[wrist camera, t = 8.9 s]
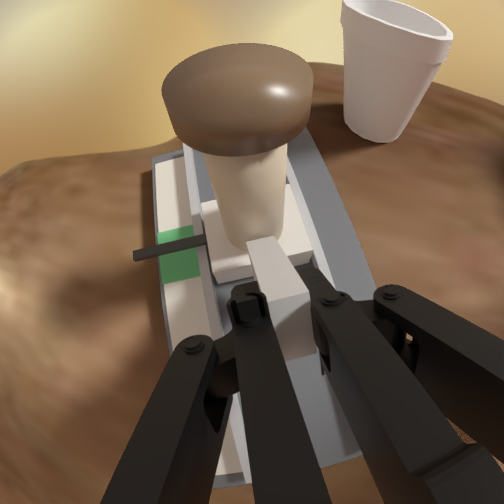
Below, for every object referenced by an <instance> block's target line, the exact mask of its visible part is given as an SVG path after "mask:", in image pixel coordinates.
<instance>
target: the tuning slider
mask: <svg viewBox="0 0 504 504" xmlns="http://www.w3.org/2000/svg"><path fill="white" fill-rule="evenodd" d="M312 89H313V72H312V69H311V67H310V66H309V64H308V63H307V62H306V61H305V60H304V59H302V58H301V57H300V56H298V55H297V54H295V53H293V52H291V51H289V50H286V49H283V48H280V47H276V46H272V45H266V44H257V43H239V44H230V45H223V46H219V47H214V48H211V49H208V50H205V51H202V52H199V53H197V54H195V55H193V56H191V57H189V58H187V59H185V60H184V61H182V62H181V63H179V64H178V65H177V66H175V67H174V68H173V69H172V70H171V71H170V72H169V74H168V75H167V76H166V78H165V80H164V82H163V85H162V97H163V99H164V102H165V105H166V108H167V111H168V114H169V117H170V120H171V123H172V126H173V129H174V131H175V133H176V135H177V136H178V138H179V139H180V140H181V141H182V142H183V143H184V144H186V145H187V146H189V147H190V148H193V149H195V150H197V151H200V152H203V156H204V159H205V163H206V166H207V170H208V173H209V177H210V181H211V184H212V188H213V191H214V195H215V198H216V200H212V201H207V202H203V203H201V207H202V214H203V220H204V226H205V232H206V233H204V234H200V235H196V236H192V237H188V238H183V239H179V240H175V241H171V242H167V243H163V244H159V245H155V246H151V247H147V248H143V249H139V250H135V251H133V260H134V261H135V262H136V261H141V260H145V259H149V258H153V257H157V256H161V255H165V254H170V253H174V252H178V251H182V250H187V249H191V248H195V247H199V246H204V245H208V249H209V255H210V261H211V266H212V272H213V275H214V276H215V278H216V280H217V282H218V284H221V283H225V282H230V281H234V280H238V279H243V278H247V277H252V276H253V271H252V267H251V262H250V258H249V253H248V249H247V244H246V242H248V241H252V240H256V239H261V238H265V237H269V236H274V237H275V238H276V240H277V241H278V243H279V245H280V246H281V248H282V249H283V251H284V252H285V254H286V255H287V257H288V259H289V260H290V262H291V263H292V265H293V266H298V265H303V264H307V263H309V262H310V258H311V255H312V251H313V249H312V246H311V243H310V240H309V237H308V234H307V231H306V228H305V225H304V222H303V219H302V217H301V214H300V211H299V208H298V205H297V203H296V200H295V197H294V194H293V192H292V189H291V186H290V184H286V165H287V143H288V142H290V141H291V140H293V139H294V138H295V137H297V136H298V135H299V134H300V133H301V132H302V131H303V130H304V128H305V127H306V125H307V123H308V121H309V117H310V111H311V100H312Z"/></svg>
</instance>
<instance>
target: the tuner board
mask: <svg viewBox="0 0 504 504" xmlns="http://www.w3.org/2000/svg"><path fill="white" fill-rule="evenodd" d="M152 177H153V204H154V222H155V237H156V245H159V244H163V243H167V242H171V241H175V240H179V239H183V238H188V237H192V236H196V235H200V234H204V233H206V232H205V226H204V220H203V214H202V207H201V203H203V202H207V201H212V200H216V198H215V195H214V191H213V188H212V184H211V181H210V177H209V173H208V170H207V166H206V163H205V159H204V156H203V152H200V151H197V150H195V149H193V148H190V147H189V146H187V145H186V144H184V143H183V149H182V150H178V151H175V152H171V153H167V154H164V155H160V156H157V157H153V158H152ZM286 184H290V186H291V189H292V192H293V194H294V197H295V200H296V203H297V205H298V208H299V211H300V214H301V217H302V219H303V222H304V225H305V228H306V231H307V234H308V237H309V240H310V243H311V246H312V249H313V251H312V255H311V258H310V262H309V263H307V264H303V265H298V266H294V268H295V270H299V269H303V268H307V267H311V266H312V267H315V268H317V269H319V270H320V271H321V272H322V273H323V274H324V276H325V277H326V278H327V280H328V281H329V282H330V283H331V284H332V286H333V287H334V288H335V289H336V291H342V292H345V293H347V294H348V295H350V296H351V298H352V299H353V300H354V301H363V300H373V293H374V292H375V290H376V289H377V288H376V285H375V282H374V280H373V277H372V274H371V271H370V269H369V266H368V263H367V261H366V258H365V255H364V253H363V250H362V248H361V245H360V242H359V240H358V237H357V235H356V233H355V230H354V228H353V225H352V223H351V220H350V218H349V216H348V213H347V211H346V209H345V206H344V204H343V202H342V199H341V197H340V195H339V193H338V190H337V188H336V186H335V184H334V182H333V180H332V177H331V175H330V173H329V171H328V169H327V167H326V165H325V163H324V161H323V158H322V156H321V154H320V152H319V150H318V148H317V146H316V144H315V142H314V140H313V138H312V136H311V135H310V133H309V131H308V129H307V127H305V128H304V130H303V131H302V132H301V133H300V134H299V135H298V136H297V137H295V138H294V139H293V140H291V141H290V142H288V143H287V165H286ZM157 261H158V272H159V281H160V290H161V299H162V307H163V315H164V322H165V329H166V336H167V342H168V349H169V355H170V357H171V355H172V353H173V351H174V349H175V347H176V346H177V345H178V343H179V342H181V341H182V340H183V339H185V338H187V337H189V336H193V335H199V334H200V335H207V336H209V337H211V338H212V340H213V341H214V340H217V339H219V338H221V337H223V336H225V335H226V334H227V333H229V332H230V331H231V329H232V324H231V321H230V317H229V314H228V310H227V307H226V304H227V301H228V300H229V299H230V298H231V291H232V289H233V287H234V286H235V285H239V284H244V283H248V282H252V281H255V280H254V276H252V277H247V278H243V279H238V280H234V281H230V282H225V283H221V284H218V282H217V280H216V278H215V276H214V275H213V272H212V266H211V261H210V255H209V249H208V245H204V246H199V247H195V248H191V249H187V250H182V251H178V252H174V253H170V254H165V255H161V256H157ZM316 352H317V353H315V354H312V355H308V356H304V357H301V358H297V359H293V360H289V361H285V363H286V366H287V369H288V372H289V375H290V378H291V381H292V384H293V387H294V390H295V393H296V396H297V399H298V403H299V406H300V409H301V412H302V415H303V418H304V421H305V424H306V427H307V430H308V433H309V436H310V439H311V442H312V445H313V448H314V451H315V454H316V457H317V460H318V463H319V466H320V469H321V468H325V467H328V466H331V465H335V464H338V463H341V462H344V461H347V460H350V459H353V458H356V457H359V456H361V455H363V454H362V452H361V449H360V447H359V445H358V443H357V440H356V438H355V436H354V434H353V432H352V429H351V427H350V425H349V423H348V420H347V418H346V416H345V414H344V412H343V409H342V407H341V405H340V403H339V401H338V399H337V396H336V394H335V392H334V390H333V388H332V385H331V383H330V381H329V379H328V377H327V375H326V372H325V370H324V375H323V376H322V374H321V365H320V354H319V349H318V347H317V345H316ZM248 484H252V479H251V472H250V465H249V458H248V451H247V444H246V437H245V429H244V422H243V414H242V406H241V398H240V392H237V393H235V394H233V402H232V406H231V410H230V415H229V419H228V423H227V428H226V432H225V436H224V441H223V445H222V449H221V453H220V458H219V462H218V466H217V470H216V474H215V478H214V483H213V487H212V489H216V488H225V487H234V486H241V485H248Z"/></svg>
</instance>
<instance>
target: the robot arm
mask: <svg viewBox="0 0 504 504" xmlns="http://www.w3.org/2000/svg"><path fill="white" fill-rule="evenodd" d="M246 244H247V249H248V253H249V258H250V262H251V267H252V271H253V276H254V280H255V281H252V282H248V283H244V284H239V285H235V286H234V287H233V289H232V291H231V298H230V299H229V300H228V301H227V304H226V307H227V310H228V314H229V317H230V321H231V324H232V329H231V331H230V332H229V333H227V334H226V335H225V336H223V337H221V338H219V339H217V340H214V341H213V340H212V338H211V337H209V336H207V335H200V334H199V335H193V336H189V337H187V338H185V339H183V340H182V341H181V342H179V343H178V345H177V346H176V347H175V349H174V351H173V353H172V355H171V357H170V359H169V361H168V363H167V365H166V367H165V369H164V371H163V373H162V375H161V377H160V379H159V381H158V383H157V385H156V387H155V389H154V391H153V393H152V395H151V397H150V399H149V401H148V403H147V405H146V407H145V409H144V411H143V413H142V415H141V417H140V420H139V422H138V424H137V426H136V428H135V430H134V432H133V434H132V436H131V438H130V440H129V442H128V445H127V447H126V449H125V451H124V453H123V455H122V457H121V459H120V461H119V464H118V466H117V468H116V470H115V472H114V474H113V476H112V479H111V481H110V483H109V485H108V487H107V489H106V492H105V494H104V496H103V498H102V500H101V503H100V504H208V503H209V499H210V495H211V491H212V487H213V483H214V478H215V474H216V470H217V466H218V462H219V458H220V453H221V449H222V445H223V441H224V436H225V432H226V428H227V423H228V419H229V415H230V410H231V406H232V402H233V394H235V393H237V392H240V398H241V406H242V414H243V422H244V429H245V437H246V444H247V451H248V458H249V465H250V472H251V479H252V485H253V492H254V498H255V504H332V502H331V499H330V497H329V494H328V490H327V487H326V484H325V481H324V478H323V475H322V472H321V469H320V466H319V463H318V460H317V457H316V454H315V451H314V448H313V445H312V442H311V439H310V436H309V433H308V430H307V427H306V424H305V421H304V418H303V415H302V412H301V409H300V406H299V403H298V399H297V396H296V393H295V390H294V387H293V384H292V381H291V378H290V375H289V372H288V369H287V366H286V363H285V361H289V360H293V359H297V358H301V357H304V356H308V355H312V354H315V353H317V352H316V345H317V347H318V349H319V354H320V365H321V374H322V376H323V375H324V370H325V372H326V375H327V377H328V379H329V381H330V383H331V385H332V388H333V390H334V392H335V394H336V396H337V399H338V401H339V403H340V405H341V407H342V409H343V412H344V414H345V416H346V418H347V420H348V423H349V425H350V427H351V429H352V432H353V434H354V436H355V438H356V440H357V443H358V445H359V447H360V449H361V452H362V454H363V456H364V458H365V461H366V463H367V465H368V467H369V470H370V472H371V474H372V476H373V479H374V481H375V483H376V485H377V488H378V490H379V492H380V495H381V497H382V499H383V502H384V504H504V472H503V471H502V469H501V468H500V466H499V465H498V464H497V462H496V461H495V459H494V458H493V456H494V457H496V458H497V459H498V460H499V461H501V462H502V463H503V464H504V341H503V340H502V339H500V338H498V337H496V336H494V335H493V334H491V333H489V332H487V331H486V330H484V329H482V328H480V327H478V326H477V325H475V324H473V323H471V322H469V321H467V320H466V319H464V318H462V317H460V316H458V315H456V314H454V313H453V312H451V311H449V310H447V309H445V308H443V307H441V306H439V305H438V304H436V303H434V302H432V301H430V300H428V299H426V298H424V297H422V296H420V295H418V294H416V293H415V292H413V291H411V290H409V289H407V288H405V287H402V286H399V285H393V284H391V285H385V286H382V287H379V288H378V289H376V290H375V292H374V293H373V300H363V301H354V300H353V299H352V298H351V296H350V295H348V294H347V293H345V292H342V291H336V289H335V288H334V287H333V286H332V284H331V283H330V282H329V281H328V280H327V278H326V277H325V276H324V274H323V273H322V272H321V271H320V270H319V269H317V268H315V267H312V266H311V267H307V268H303V269H299V270H295V268H294V266H293V265H292V263H291V262H290V260H289V259H288V257H287V255H286V254H285V252H284V251H283V249H282V248H281V246H280V245H279V243H278V241H277V240H276V238H275V237H274V236H269V237H265V238H261V239H256V240H252V241H248V242H246ZM407 333H408V334H409V335H411V336H412V337H413V339H412V341H410V340H408V339H407V338H406V334H407ZM446 417H447V418H448V419H449V420H450V421H451V422H453V423H454V424H455V425H456V426H458V427H459V428H460V429H461V430H462V431H464V432H465V433H466V434H467V435H469V436H470V437H471V438H472V439H473V440H475V441H476V442H477V443H474V444H467V443H464V442H463V441H462V440H461V438H460V437H459V436H458V434H457V433H456V431H455V430H454V429H453V427H452V426H451V424H450V423H449V422H448V420H447V419H446ZM490 453H491V454H492V455H493V456H492V455H491V454H490Z"/></svg>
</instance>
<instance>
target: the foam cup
mask: <svg viewBox="0 0 504 504" xmlns="http://www.w3.org/2000/svg"><path fill="white" fill-rule="evenodd" d="M341 24H342V27H343V38H344V39H343V40H344V120H345V123H346V124H347V125H348V127H349V128H350V129H351V131H353V132H354V133H356V134H357V135H359V136H360V137H362V138H364V139H367V140H370V141H373V142H377V143H390V142H392V141H394V140H396V139H398V137H399V135H400V134H401V133H402V131H403V130H404V128H405V126H406V125H407V123H408V121H409V120H410V118H411V116H412V115H413V113H414V111H415V110H416V108H417V106H418V105H419V103H420V101H421V99H422V98H423V96H424V94H425V92H426V91H427V89H428V87H429V85H430V84H431V82H432V80H433V78H434V77H435V75H436V73H437V71H438V69H439V67H440V66H441V64H442V63H443V62H445V61H446V58H447V56H448V53H449V50H450V47H451V44H452V41H453V33H452V32H451V31H450V30H449V29H448V28H447V27H446V26H445V25H444V24H443V23H441V22H440V21H438V20H437V19H435V18H434V17H432V16H430V15H428V14H427V13H424V12H422V11H420V10H418V9H416V8H414V7H411V6H409V5H406V4H403V3H400V2H397V1H394V0H343V1H342V11H341Z"/></svg>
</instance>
